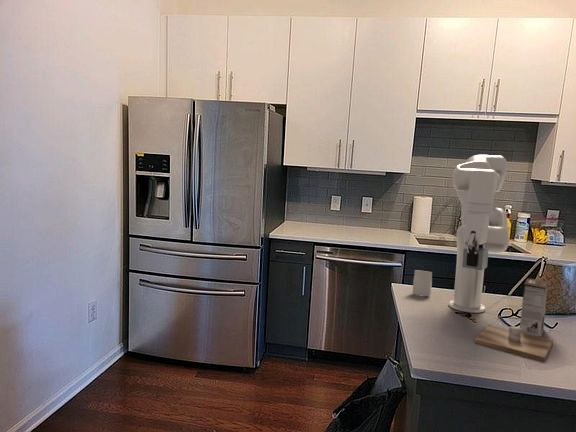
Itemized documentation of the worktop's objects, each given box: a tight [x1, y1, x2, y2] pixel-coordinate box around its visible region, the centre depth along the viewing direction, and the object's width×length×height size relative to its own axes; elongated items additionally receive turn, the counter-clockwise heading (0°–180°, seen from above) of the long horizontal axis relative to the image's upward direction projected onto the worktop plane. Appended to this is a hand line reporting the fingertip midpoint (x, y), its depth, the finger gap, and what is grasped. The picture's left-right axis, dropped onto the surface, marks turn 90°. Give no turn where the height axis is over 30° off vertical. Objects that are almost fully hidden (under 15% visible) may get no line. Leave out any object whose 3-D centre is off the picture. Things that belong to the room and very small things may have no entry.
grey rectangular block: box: [412, 269, 433, 298], centre depth 175 cm, size 4×7×10 cm, turn 63°
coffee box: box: [519, 278, 549, 337], centre depth 138 cm, size 9×6×16 cm
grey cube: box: [462, 247, 489, 270], centre depth 137 cm, size 6×6×6 cm
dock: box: [474, 324, 554, 362], centre depth 128 cm, size 16×18×5 cm
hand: (474, 263), depth 137 cm, fingers closed on grey cube, 6 cm apart
